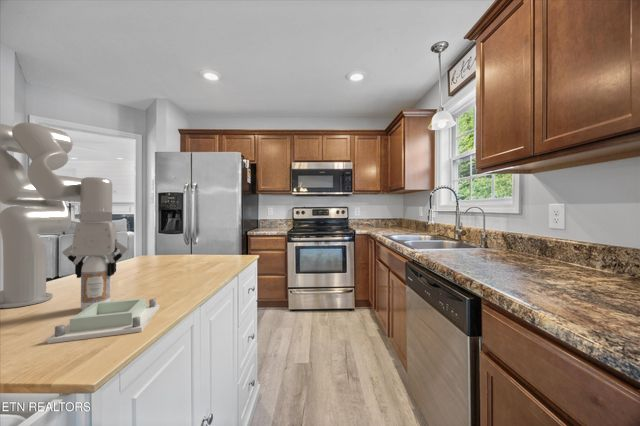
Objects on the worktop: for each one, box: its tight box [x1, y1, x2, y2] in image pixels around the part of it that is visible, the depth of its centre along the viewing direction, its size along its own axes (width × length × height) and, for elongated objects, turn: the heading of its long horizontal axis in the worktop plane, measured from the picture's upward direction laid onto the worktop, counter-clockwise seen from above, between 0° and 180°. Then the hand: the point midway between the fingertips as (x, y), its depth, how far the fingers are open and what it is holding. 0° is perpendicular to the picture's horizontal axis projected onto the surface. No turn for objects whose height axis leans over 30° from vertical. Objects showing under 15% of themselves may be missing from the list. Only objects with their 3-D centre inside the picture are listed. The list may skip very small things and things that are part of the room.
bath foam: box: [80, 255, 112, 311], centre depth 82 cm, size 7×7×20 cm
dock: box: [46, 297, 160, 344], centre depth 71 cm, size 18×18×4 cm
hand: (96, 275), depth 82 cm, fingers closed on bath foam, 7 cm apart
